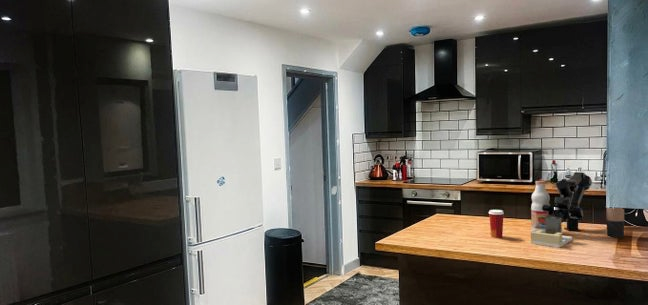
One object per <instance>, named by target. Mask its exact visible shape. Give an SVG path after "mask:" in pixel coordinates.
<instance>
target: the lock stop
mask: <svg viewBox="0 0 648 305" xmlns="http://www.w3.org/2000/svg"><path fill="white" fill-rule="evenodd" d="M562 231H563V230H562V223H561V217H556V216H552V215H550V216H548V217H546V218H545V233H547V234H556V233H557V232H559V233H562V234H563V232H562Z"/></svg>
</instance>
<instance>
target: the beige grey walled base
mask: <svg viewBox="0 0 648 305" xmlns="http://www.w3.org/2000/svg"><path fill="white" fill-rule="evenodd" d="M572 240H573V237H572V236H568V235H563V232H562V233H559V232H557V233H556V234H547V233H543V230H538V231H536V232H533V231H531V232H530V244H531V245H539V246H546V247H551V248H552V247H553V248H561V247H563V246H564V245H566V244H567V243H569V242H571V241H572Z"/></svg>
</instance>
